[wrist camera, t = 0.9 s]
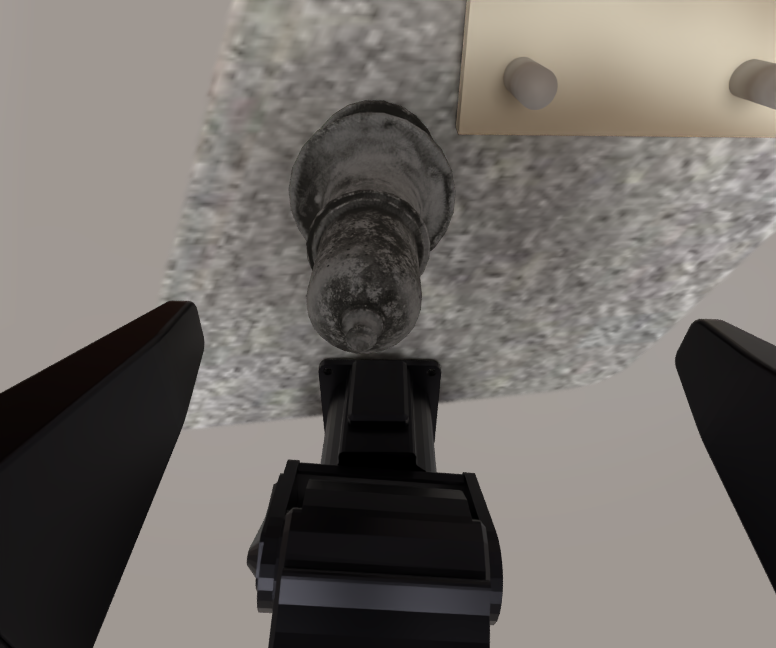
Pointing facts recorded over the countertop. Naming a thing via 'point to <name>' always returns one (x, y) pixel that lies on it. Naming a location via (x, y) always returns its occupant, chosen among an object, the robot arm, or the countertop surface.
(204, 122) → the countertop surface
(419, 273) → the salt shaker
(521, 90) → the pin board
